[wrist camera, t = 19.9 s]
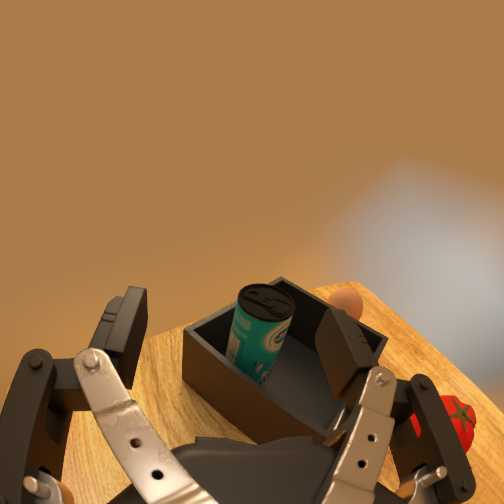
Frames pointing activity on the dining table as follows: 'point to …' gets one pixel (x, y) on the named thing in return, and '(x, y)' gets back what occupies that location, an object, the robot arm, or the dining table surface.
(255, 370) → the beverage can
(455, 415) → the tomato
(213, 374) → the bin
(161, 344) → the dining table surface
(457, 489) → the robot arm
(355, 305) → the egg
